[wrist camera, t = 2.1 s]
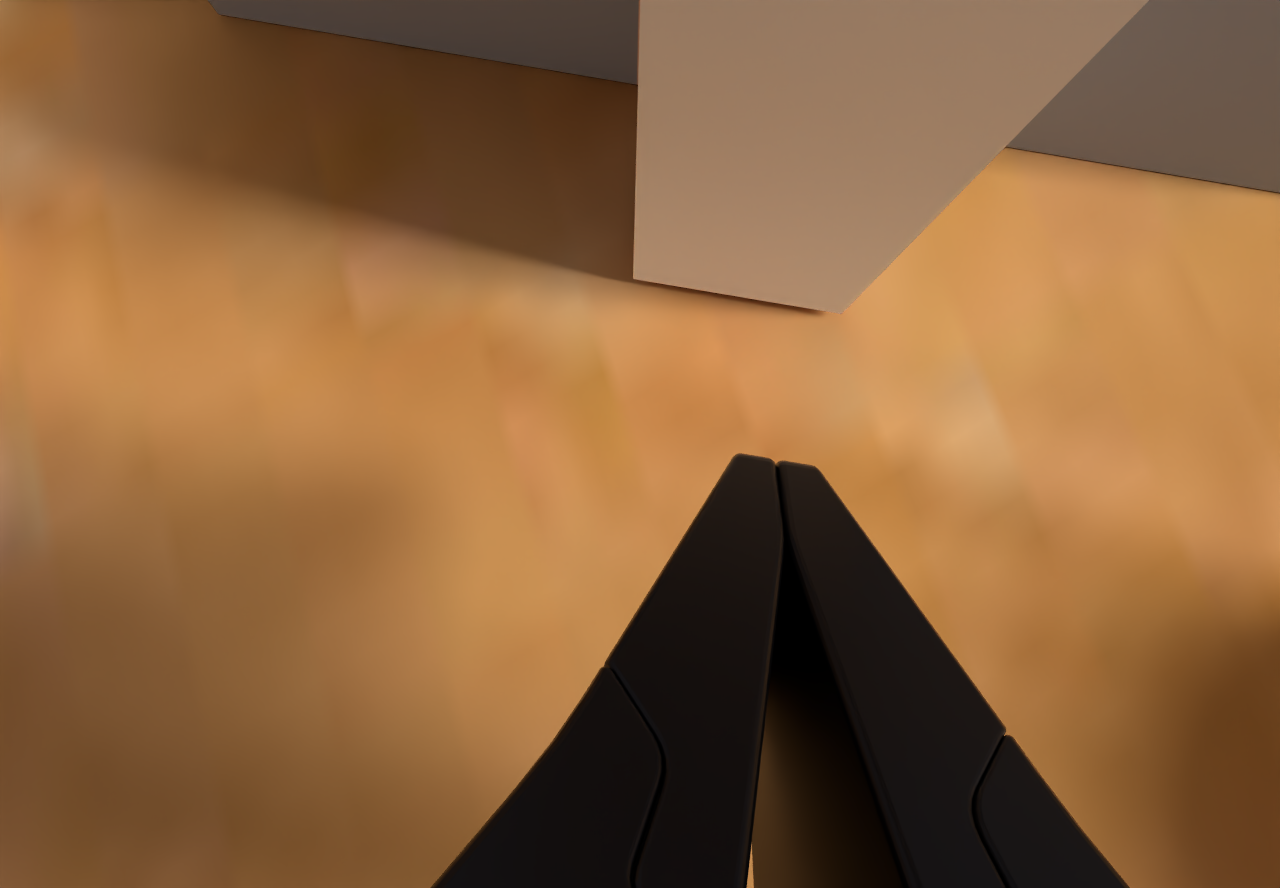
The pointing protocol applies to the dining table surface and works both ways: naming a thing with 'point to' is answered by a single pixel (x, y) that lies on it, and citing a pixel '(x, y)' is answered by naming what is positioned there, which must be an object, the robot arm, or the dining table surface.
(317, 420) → the dining table surface
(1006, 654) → the dining table surface
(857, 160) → the peg block
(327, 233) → the dining table surface
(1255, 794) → the dining table surface
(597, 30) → the grey blocks
